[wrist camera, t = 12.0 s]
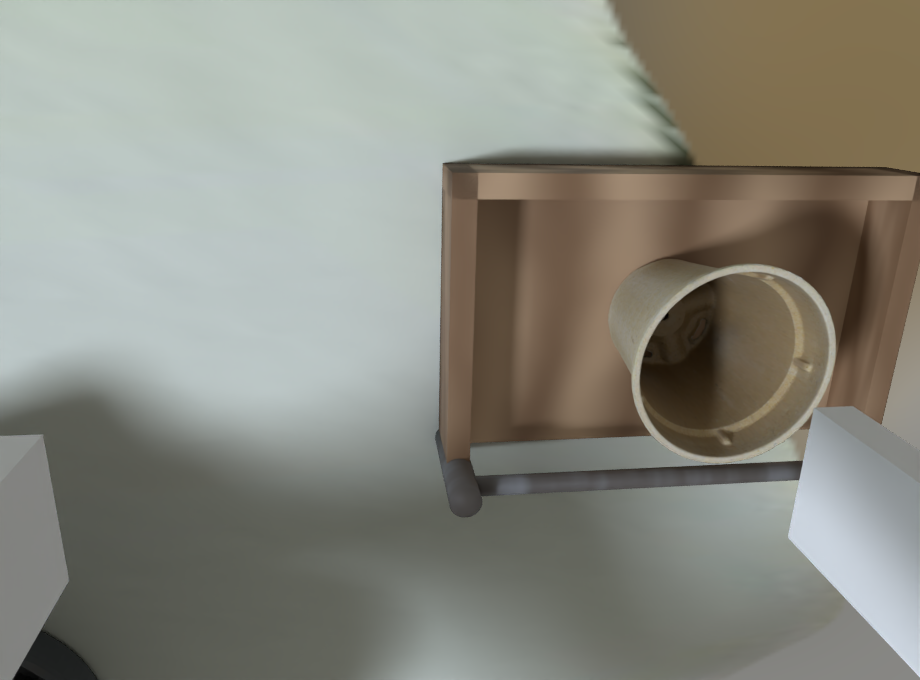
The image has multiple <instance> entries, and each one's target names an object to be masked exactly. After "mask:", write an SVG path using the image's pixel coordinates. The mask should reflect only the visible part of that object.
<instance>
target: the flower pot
mask: <svg viewBox="0 0 920 680" xmlns="http://www.w3.org/2000/svg"><path fill="white" fill-rule="evenodd" d="M667 313H668V318H667V319H664V320H663V317H664V316H665V315H666V314H667ZM703 319H705V320H706V322H705V328H704V330H703V331H702V334H701V335H700V336H699V337H697V338H696V339H692V338H693V336H694V335H695V333H696V331H697V329H698V328H699V326H700V324H701V321H702V320H703ZM608 324H609V330H610V335H611V339H612V341H613V343H614V345H615V347H616V348H617V350H618V351H619V353H620V355H621V357H622V358H623V360H624V362H625V364H626V366H627V367H628V369H629V371H630V373H631V375H632V376H631V381H632V393H633V398H634V403H635V406H636V409H637V411H638V414H639V416H640V418H641V420H642V422H643V423H644V425H645V427H646V428H647V430H648V431H649V432H650V434H651V435H652V436H653V437H654V438H655V439H656V440H657V441H658V442H659V443H660V444H662V445H663V446H665V447H666V448H667V449H669V450H670V451H672V452H674V453H676V454H677V455H680V456H682V457H685V458H688V459H691V460H695V461H699V462H705V463H732V462H735V461H741V460H745V459H749V458H753V457H755V456H758V455H760V454H762V453H764V452H767V451H769V450H770V449H772V448H774V447H775V446H777V445H779V444H781V443H783V442H784V441H785V440H786V439H788V438H789V437H790V436H791V435H793V434H794V433H795V432H796V431H797V430H798V429H800V427H801V426H803V425H804V423H805V422H806V421H807V420H808V418H809V417H810V416H811V414H812V413H813V410H814V408H817V407H818V404H819V402H820V401H821V399H822V397H823V395H824V393H825V391H826V389H827V387H828V384H829V382H830V379H831V376H832V372H833V368H834V364H835V356H836V335H835V329H834V324H833V320H832V317H831V314H830V311H829V309H828V307H827V305H826V304H825V302H824V300H823V299H822V297H821V296H820V295H819V294H818V292H817V291H816V290H815V289H814V288H813V287H812V286H811V285H810V284H809V283H807V282H806V281H805V280H803V279H802V278H801V277H799V276H797V275H795V274H793V273H791V272H789V271H786V270H784V269H781V268H778V267H774V266H771V265H765V264H750V263H747V264H736V265H730V266H726V267H722V268H715V267H710V266H705V265H700V264H695V263H691V262H687V261H683V260H678V259H662V260H659V261H656V262H653V263H650V264H648V265H645V266H643V267H641V268H639V269H637V270H635V271H633V272H632V273H631V274H630V275H629V276H628V277H627V278H626V279H625V280H624V281H623V282H622V284H621V285H620V286H619V288H618V289H617V291H616V292H615V294H614V297H613V299H612V302H611V305H610V309H609V314H608ZM645 350H646V351H649V352H651V356H650V357H649V356H644V352H645Z"/></svg>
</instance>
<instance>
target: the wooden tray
mask: <svg viewBox="0 0 920 680" xmlns="http://www.w3.org/2000/svg"><path fill="white" fill-rule="evenodd" d="M662 259H678V260H683V261H687V262H691V263H695V264H700V265H705V266H710V267H715V268H722V267H726V266H730V265H736V264H747V263H750V264H765V265H771V266H774V267H778V268H781V269H784V270H786V271H789V272H791V273H793V274H795V275H797V276H799V277H801V278H802V279H803V280H805V281H806V282H807V283H809V284H810V285H811V286H812V287H813V288H814V289H815V290H816V291H817V292H818V294H819V295H820V296H821V297H822V299H823V300H824V302H825V304H826V305H827V307H828V309H829V311H830V314H831V317H832V320H833V324H834V329H835V335H836V356H835V364H834V368H833V372H832V376H831V379H830V382H829V384H828V387H827V389H826V391H825V393H824V395H823V397H822V399H821V401H820V402H819V404H818V407H845V406H853V407H855V408H856V409H858V410H859V411H861V412H862V413H864V414H865V415H867V416H868V417H870V418H871V419H873V420H875V421H876V422H878V423H879V424H882V420H883V416H884V411H885V407H886V403H887V398H888V394H889V390H890V386H891V381H892V377H893V373H894V369H895V364H896V360H897V356H898V351H899V347H900V343H901V338H902V335H903V330H904V326H905V322H906V317H907V313H908V309H909V305H910V300H911V296H912V292H913V287H914V283H915V279H916V275H917V271H918V266H919V262H920V173H917V172H911V171H905V170H899V169H893V168H887V167H797V166H795V167H794V166H793V167H791V166H787V167H786V166H689V165H579V164H469V163H443V178H442V248H441V318H440V388H439V430H438V431H437V433H436V436H435V440H436V445H437V449H438V454H439V458H440V463H441V468H442V472H443V477H444V481H445V486H446V491H447V495H448V500H449V504H450V508H451V510H452V512H453V513H454V514H455V515H457V516H460V517H470V516H473V515H474V514H476V513H477V512H478V511H479V510H480V508H481V506H482V497H481V496H494V495H514V494H533V493H553V492H573V491H592V490H612V489H632V488H651V487H671V486H690V485H710V484H730V483H749V482H769V481H788V480H799V479H800V474H801V470H802V465H803V461H788V462H767V463H746V464H724V465H703V466H682V467H661V468H640V469H619V470H598V471H577V472H555V473H534V474H513V475H492V476H475V474H474V470H473V467H472V464H471V460H470V443H484V442H508V441H533V440H557V439H581V438H605V437H629V436H652V435H651V434H650V432H649V431H648V430H647V428H646V427H645V425H644V423H643V422H642V420H641V418H640V416H639V414H638V411H637V409H636V406H635V403H634V398H633V393H632V381H631V376H632V375H631V373H630V371H629V369H628V367H627V366H626V364H625V362H624V360H623V358H622V357H621V355H620V353H619V351H618V350H617V348H616V347H615V345H614V343H613V341H612V339H611V335H610V330H609V324H608V314H609V309H610V305H611V302H612V299H613V297H614V294H615V292H616V291H617V289H618V288H619V286H620V285H621V284H622V282H623V281H624V280H625V279H626V278H627V277H628V276H629V275H630V274H631V273H632V272H633V271H635V270H637V269H639V268H641V267H643V266H645V265H648V264H650V263H653V262H656V261H659V260H662ZM667 318H668V313H667V314H666V315H665V316H664V317H663V320H664V319H667ZM705 322H706V320H705V319H703V320H702V321H701V324H700V326H699V328H698V329H697V331H696V333H695V335H694V336H693V338H692V339H696V338H697V337H699V336H700V335H701V334H702V331H703V330H704V328H705ZM644 356H649V357H650V356H651V352H649V351H646V350H645V352H644ZM812 415H813V413H812V414H811V416H810V417H809V418H808V420H807V421H806V422H805V423H804V425H803V426H801V427H800V429H810V425H811V420H812Z"/></svg>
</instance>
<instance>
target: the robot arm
mask: <svg viewBox="0 0 920 680" xmlns="http://www.w3.org/2000/svg"><path fill="white" fill-rule="evenodd" d="M788 538H789V539H790V540H791V541H792V542H793V543H794V545H795V546H796V547H797V548H798V549H799V550H800V551H801V552H802V553H803V554H804V555H805V556H806V557H807V558H808V559H809V560H810V561H811V563H812V564H813V565H814V566H815V567H816V568H817V569H818V570H819V571H820V572H821V573H822V574H823V575H824V576H825V577H826V578H827V580H828V581H829V582H830V583H831V584H832V585H833V586H834V587H835V588H836V589H837V590H838V591H839V592H840V593H841V594H842V595H843V596H844V598H845V599H846V600H847V601H848V602H849V603H850V604H851V605H852V606H853V607H854V608H855V609H856V610H857V611H858V612H859V613H860V614H861V615H862V617H863V618H864V619H865V620H866V621H867V622H868V623H869V624H870V625H871V626H872V627H873V628H874V629H875V630H876V631H877V632H878V634H879V635H880V636H881V637H882V638H883V639H884V640H885V641H886V642H887V643H888V644H889V645H890V646H891V647H892V648H893V649H894V650H895V652H896V653H897V654H898V655H899V656H900V657H901V658H902V659H903V660H904V661H905V662H906V663H907V664H908V665H909V666H910V667H911V669H912V670H913V671H914V672H915V673H916V674H917V675H918V676H919V677H920V450H918V449H917V448H916V447H914V446H913V445H911V444H910V443H908V442H906V441H905V440H903V439H902V438H900V437H899V436H897V435H896V434H894V433H893V432H891V431H890V430H888V429H887V428H885V427H884V426H882V425H881V424H879V423H878V422H876V421H875V420H873V419H871V418H870V417H868V416H867V415H865V414H864V413H862V412H861V411H859V410H858V409H856V408H855V407H853V406H845V407H817V408H814V410H813V415H812V420H811V425H810V430H809V435H808V440H807V445H806V450H805V455H804V460H803V465H802V470H801V474H800V479H799V484H798V489H797V494H796V499H795V504H794V509H793V514H792V519H791V524H790V529H789V534H788ZM68 582H69V576H68V571H67V565H66V560H65V554H64V549H63V543H62V537H61V532H60V526H59V521H58V515H57V510H56V504H55V499H54V493H53V487H52V482H51V476H50V471H49V465H48V460H47V454H46V449H45V443H44V438H43V434H41V435H12V436H0V680H97V679H96V677H95V676H94V674H93V673H92V671H91V670H90V669H89V668H88V666H87V665H86V664H85V663H84V662H83V661H82V660H81V659H80V658H79V657H78V656H77V655H76V654H75V653H74V652H73V651H71V650H70V649H69V648H68V647H66V646H65V645H64V644H62V643H61V642H59V641H58V640H56V639H54V638H53V637H51V636H49V635H47V634H45V633H43V632H41V629H42V627H43V625H44V624H45V622H46V620H47V618H48V617H49V615H50V613H51V611H52V610H53V608H54V606H55V604H56V603H57V601H58V599H59V597H60V596H61V594H62V592H63V590H64V589H65V587H66V585H67V583H68Z"/></svg>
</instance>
